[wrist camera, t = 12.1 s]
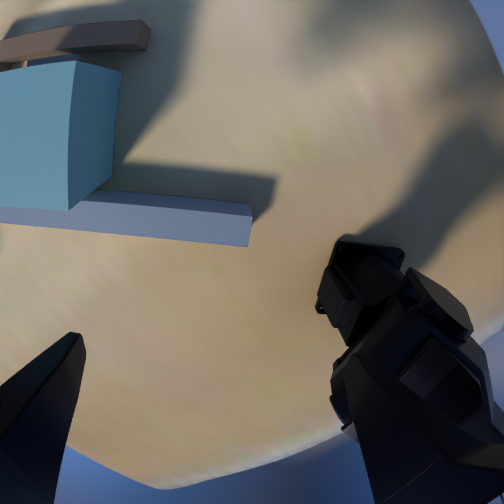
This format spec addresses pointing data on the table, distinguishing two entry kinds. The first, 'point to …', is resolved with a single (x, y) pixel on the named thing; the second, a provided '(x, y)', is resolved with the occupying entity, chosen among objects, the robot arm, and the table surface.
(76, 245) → the table surface
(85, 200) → the u-shaped bar frame
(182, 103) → the table surface
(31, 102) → the blue block with grip
